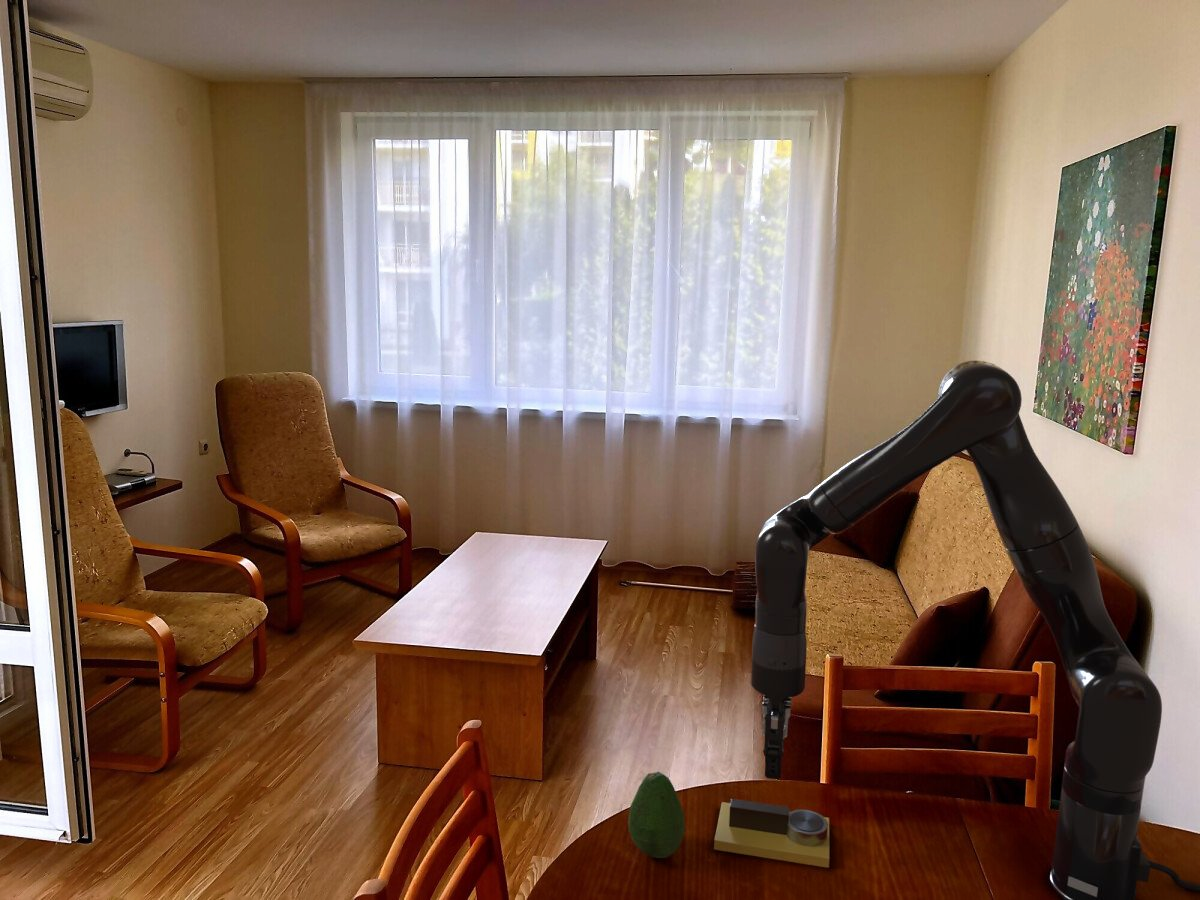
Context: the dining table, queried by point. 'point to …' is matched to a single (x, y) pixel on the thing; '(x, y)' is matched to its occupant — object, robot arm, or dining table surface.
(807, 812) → the frying pan
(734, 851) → the board
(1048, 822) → the dining table surface
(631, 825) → the avocado
